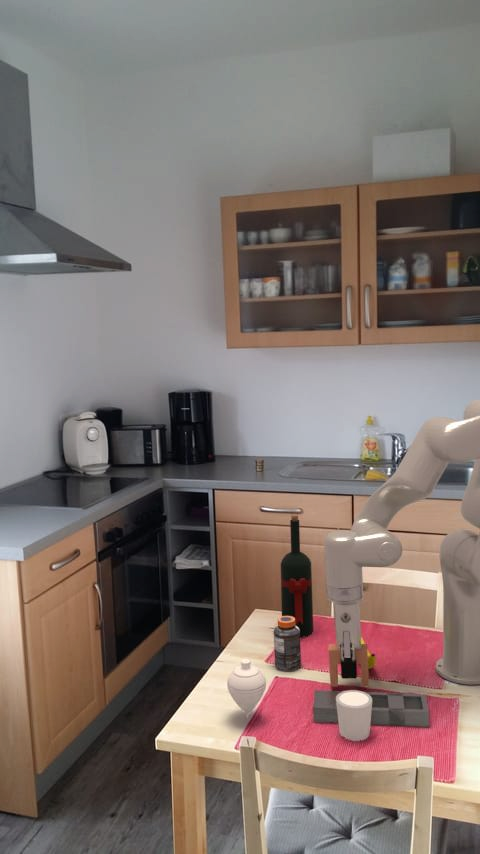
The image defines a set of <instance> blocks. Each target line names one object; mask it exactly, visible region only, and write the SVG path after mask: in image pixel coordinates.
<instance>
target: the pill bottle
mask: <svg viewBox="0 0 480 854" xmlns="http://www.w3.org/2000/svg"><path fill="white" fill-rule="evenodd" d="M295 624H296V622H295V618H294V617H292V616H282V615H281V616H280V617H278V619H277V626H276V627H274V629H273V642H274V643H273V644H274V645H273V647H274V649H273V650H274V666H275V668H276V669H278V670H280V671H283V672H292V671H293V672H295V671H296V670H298V669H300V667H301V665H302V656H301V655H302V654H301V652H302V651H301V649H302V648H301V638H300V630H299V628H298V627H297V626H295Z"/></svg>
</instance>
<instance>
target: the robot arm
mask: <svg viewBox="0 0 480 854" xmlns="http://www.w3.org/2000/svg"><path fill="white" fill-rule="evenodd" d="M462 416H463V419H461V420H459V419H454V418H451V417H450V418H449V417H445V416H435V417H430V418H428V419H427V420H426V421H425V422H423V424H422V425H421V427H420V428H419V430H418V431H417V434H416V435H415V437H414V439H413V440H412V442H411V444H410V446H409V447H408V449H407V451H406V453H405V455H404V456H403V458H402V459H401V462H400V463H399V464H398V466H397V468H396V470H395V471H394V473H393V475H392V476H391V477H390V478H389V479H388V480H386V481H385V482H384V483H383V484H382V485H380V487H378V488H377V489H376V490H375V491H373V493H372V494H371V495H370V496H369V497H368V499H367V500H366V501H365V502H364V503H363V506H362V507H361V508H360V510H359V512H358V514H357V516H356V518H355V519H354V522H353V524H352V526H351V529H350V530H346V529H345V530H344V529H343V530H342V529H341V530H340V529H338V530H333V531H330V532H328V533H327V534H326V535H325V537H324V540H323V542H324V543H323V548H324V549H323V550H324V563H325V564H324V565H325V581H326V582H325V585H326V598H327V600H328V601H329V602H331V603H332V604H333V605H332V606H333V617H334V619H333V620H334V630H335V631H334V632H335V639H336V644H337V647H338V649H340V648H341V664H340V676H341V677H340V678H341V679H345V680H346V679H348V680H351V679H352V680H353V679H357V678H358V674H357V671H358V670H357V669H358V664H356V660H355V652H354V648H355V649H358V650H359V649H360V648H361V637H362V631H361V629H362V627H361V611H360V610H361V609H360V602H361V601H363V599H364V598H365V597H364V582H363V580H364V578H363V568H387V567H390V566H393V565H395V564H396V563H397V562H398V561H399V560H401V559H400V558H401V557H402V554H403V545H402V543H401V541H400V539H399V537H397V536H396V535H395V534H394V533H392V532H391V531H390V530H388V529H387V528H388V527H389V525H390V523H391V522H392V520H393V519H394V518H395V516H396V515H397V514H398V513H399V512H400V511H401V510H403V508H405V507H406V506H409V505H411V504H414V503H417V502H420V501H423V500H424V499H427V498H428V497H430V496H431V494H432V493H433V492H434V489H435V487H436V486H437V484H438V483H439V480H440V479H441V478H442V475H443V474H444V473H445V470H446V468H447V466H448V465H449V463H453V464H458V465H459V464H460V465H461V464H465V463H466V464H467V463H469V462H472V461H474V465H473V467H472V472H471V474H470V476H469V478H468V479H469V480H468V482H467V485H466V488H465V491H464V494H463V496H462V500H461V503H460V513H461V516H462V518H464V520H465V521H466V523H469V524H470V525H472V526H474V527H475V528H477V529H480V399H475V400H472V401H471V402H469V403H468V404H467V405H466V406H465V408H464V411H463V415H462ZM438 552H439V564H440V571H441V575H442V576H441V577H442V588H443V589H442V593H443V594H442V595H443V597H442V598H443V600H442V601H443V602H442V604H443V605H442V606H443V607H442V609H443V611H442V612H443V613H442V614H443V615H442V619H443V620H442V622H443V625H442V627H443V628H442V631H443V632H442V634H443V635H442V640H443V641H442V643H443V644H442V646H443V647H442V649H443V650H442V651H443V652H442V655H443V656H442V657H440V658H439V659H438V660H437V661H436V662H435V671H436V672H437V674H438V675H439V676H440V677H442V678H443V679H445V680H447V681H450V682H453V683H456V684H460V685H461V684H462V685H470V686H471V685H472V686H473V685H480V532H479V533H477V532H475V531H472V530H469V529H463V528H462V529H461V528H460V529H455V530H452V531H450V532H449V533H447V534H446V535H445V536H444V537H443V539H442V541H441V543H440V546H439V551H438ZM343 644H344V646H343ZM350 644H352V646H350ZM350 650H352V652H350Z"/></svg>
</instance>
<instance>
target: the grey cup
mask: <svg viewBox="0 0 480 854" xmlns="http://www.w3.org/2000/svg"><path fill="white" fill-rule="evenodd" d="M342 691H343V692H341V693H339V694H338V695H337V696H336V705H337V713H338V722H339V723H338V727H339V728H338V729H339V735H340V734H341V735H340V736H341V737H342V736H343V737H345V738H346V739H350V740H352V741H351V742H361V741H364V740H366V739H368V738H369V736H370V733H371V725H370V723H371V711H372V697H371V696H370V695H369V694H367V693H365V692H366V691H361V690H357V689H349V690H342ZM343 737H342V738H343ZM345 738H344V739H345ZM346 739H345V740H346ZM350 740H349V741H350ZM360 740H361V741H360Z"/></svg>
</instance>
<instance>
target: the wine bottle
mask: <svg viewBox="0 0 480 854" xmlns="http://www.w3.org/2000/svg"><path fill="white" fill-rule="evenodd" d="M290 518H291V519H290V520H289V521H290V523H289V526H290V528H289V529H290V552H287V554H285V555H284V557H283V558H282V560H281V562H280V592H281V593H280V595H281V596H280V597H281V598H280V599H281V600H280V601H281V617H282V616H292V617H294V618H295V622H296V624H295V626H297V627H298V628H299V630H300V637H302V638H304V637H303V636H307V637H309V636H311V635H313V633H314V608H313V607H314V606H313V605H314V604H313V581H312V579H313V577H312V561H311V559H310V557H308V555H306V554H305V553H304V552H302V551H301V541H300V540H301V535H300V519H299V515H298V514H290ZM312 632H313V633H312ZM310 634H311V635H310ZM308 635H309V636H308Z"/></svg>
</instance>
